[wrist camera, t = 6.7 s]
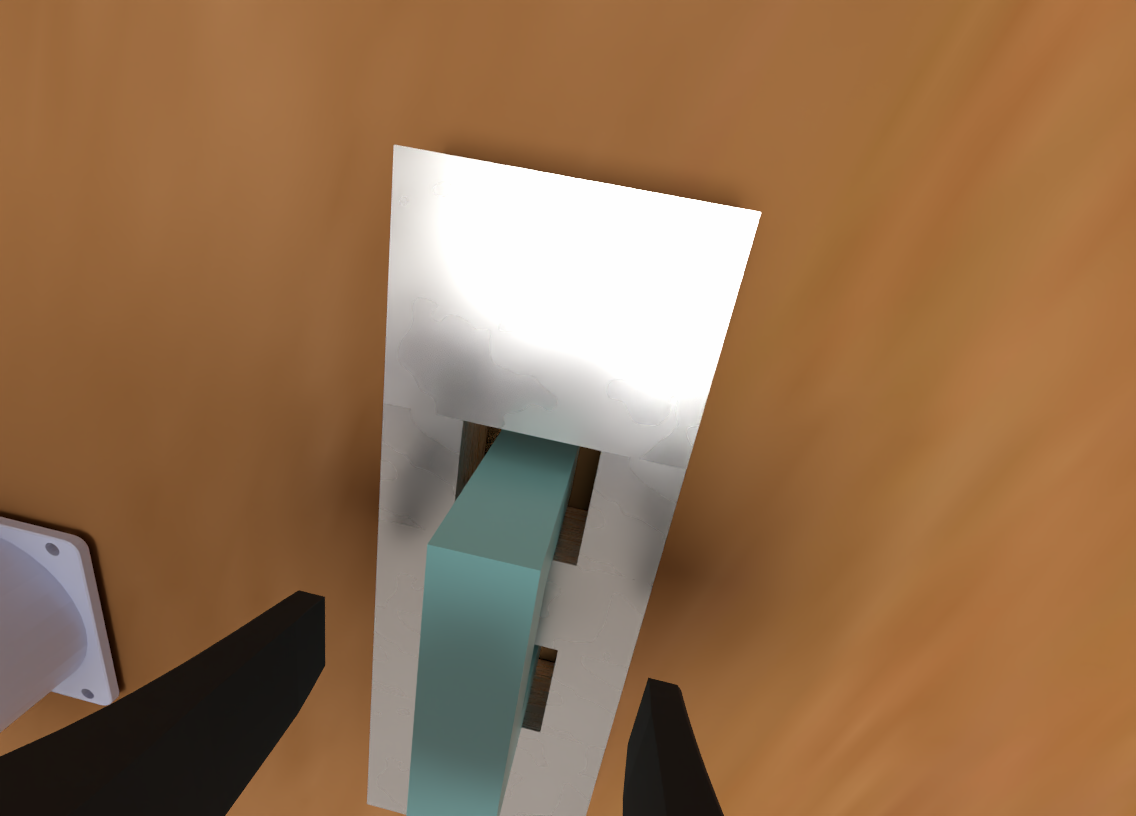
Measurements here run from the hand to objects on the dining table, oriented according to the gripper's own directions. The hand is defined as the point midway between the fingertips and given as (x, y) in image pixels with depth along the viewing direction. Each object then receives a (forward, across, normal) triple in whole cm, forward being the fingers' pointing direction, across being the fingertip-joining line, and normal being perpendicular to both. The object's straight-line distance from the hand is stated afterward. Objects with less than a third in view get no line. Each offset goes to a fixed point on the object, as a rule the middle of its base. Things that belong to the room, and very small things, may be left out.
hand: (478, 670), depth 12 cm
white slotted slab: (+5, 0, 0) cm, 5 cm away
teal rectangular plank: (+5, 0, 0) cm, 5 cm away
